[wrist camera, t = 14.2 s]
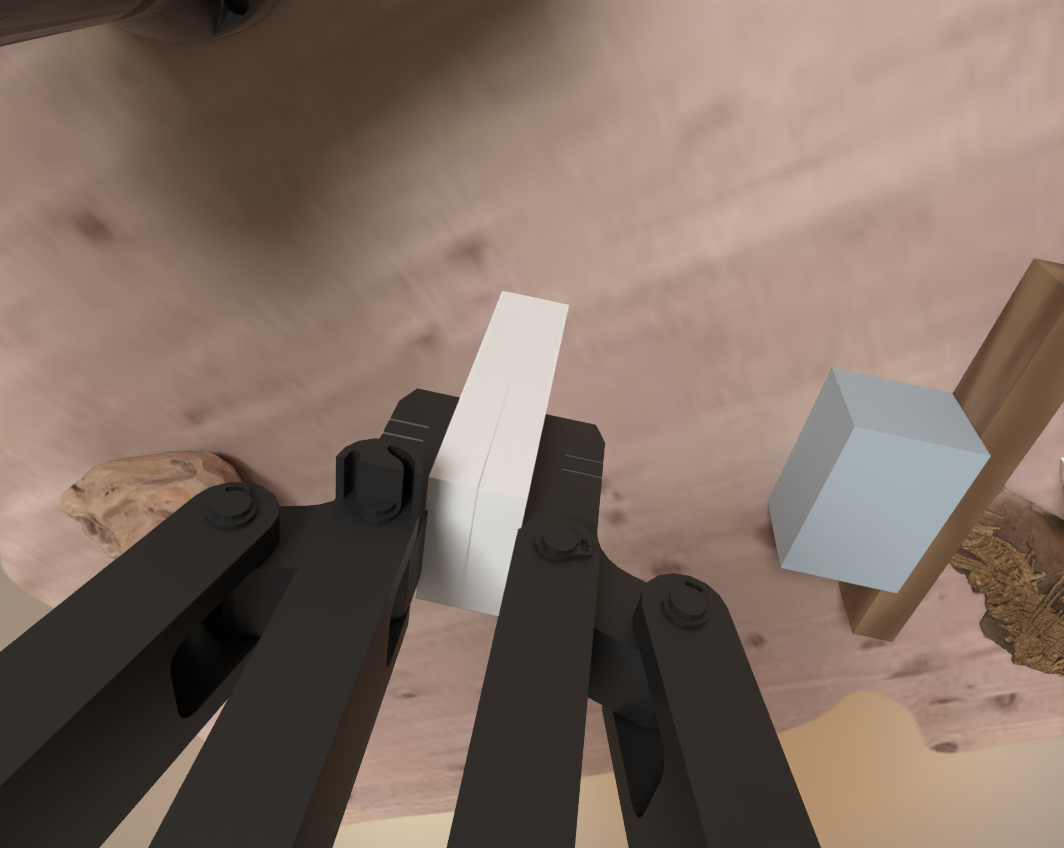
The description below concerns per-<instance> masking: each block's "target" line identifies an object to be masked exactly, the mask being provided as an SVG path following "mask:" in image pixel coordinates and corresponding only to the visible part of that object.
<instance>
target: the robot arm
mask: <svg viewBox="0 0 1064 848" xmlns="http://www.w3.org/2000/svg"><path fill="white" fill-rule="evenodd" d="M279 1H280V0H0V47H1V46H5V45H10V44H14V43H19V42H23V41H28V40H32V39H37V38H41V37H46V36H50V35H55V34H59V33H64V32H68V31H73V30H77V29H82V28H86V27H91V26H95V25H100V24H104V23H107V24H109V25H112V26H115V27H118V28H121V29H124V30H127V31H129V32H132V33H135V34H138V35H141V36H144V37H147V38H150V39H154V40H158V41H164V42H171V43H200V42H206V41H211V40H215V39H218V38H222V37H225V36H229V35H232V34H235V33H238V32H240V31H243V30H245V29H247V28H249V27H251V26H252V25H254V24H255V23H257V22H258V21H260V20H261V19H262V18H263V17H265V16H266V15H267V14H268V13H269V12H270V11H271V10H272V9H273V8H274V7H275V6H276V4H277V3H278V2H279ZM568 307H569V305H567V304H562V303H558V302H553V301H548V300H543V299H539V298H534V297H529V296H525V295H520V294H515V293H510V292H506V291H502V293H501V296H500V298H499V301H498V303H497V306H496V308H495V311H494V313H493V316H492V318H491V321H490V324H489V326H488V329H487V331H486V334H485V336H484V339H483V341H482V344H481V346H480V349H479V351H478V354H477V356H476V359H475V361H474V364H473V366H472V369H471V371H470V374H469V377H468V379H467V382H466V384H465V387H464V389H463V392H462V394H461V397H460V398H459V397H455V396H450V395H445V394H441V393H436V392H431V391H427V390H422V389H416V390H414V391H413V392H411V393H410V394H409V395H407V396H406V397H404V398H403V399H401V400H400V401H399V402H398V404H397V406H396V408H395V410H394V412H393V414H392V416H391V419H390V420H389V422H388V424H387V426H386V427H385V429H384V433H383V434H382V435H381V437H380V439H376V438H375V439H368V440H362V441H358V442H356V443H353V444H351V445H349V446H347V447H345V448H344V449H343V450H342V451H341V452H340V453H339V454H338V455H337V456H336V498H335V500H334V501H331V502H327V503H324V504H320V505H311V506H285V507H279V503H278V501H277V500H276V498H275V496H274V494H273V493H271V492H270V491H268V490H267V489H265V488H264V487H262V486H260V485H256V484H252V483H248V482H227V483H223V484H219V485H215V486H211V487H209V488H207V489H205V490H204V491H202V492H200V493H198V494H197V495H195V496H194V497H193V498H191V499H190V500H189V501H188V502H186V503H185V504H184V505H183V506H181V507H180V508H179V509H178V510H176V511H175V512H174V513H173V514H171V515H170V516H169V517H168V518H166V519H165V520H164V521H163V522H161V523H160V524H159V525H158V526H156V527H155V528H154V529H153V530H151V531H150V532H149V533H148V534H146V535H145V536H144V537H143V538H141V539H140V540H139V541H138V542H136V543H135V544H134V545H133V546H132V547H130V548H129V549H128V550H127V551H125V552H124V553H123V554H122V555H120V556H119V557H118V558H117V559H115V560H114V561H113V562H112V563H110V564H109V565H108V566H107V567H105V568H104V569H103V570H102V571H100V572H99V573H98V574H97V575H95V576H94V577H93V578H92V579H90V580H89V581H88V582H87V583H85V584H84V585H83V586H82V587H80V588H79V589H78V590H77V591H75V592H74V593H73V594H72V595H70V596H69V597H68V598H67V599H66V600H64V601H63V602H62V603H61V604H59V605H58V606H57V607H56V608H54V609H53V610H52V611H51V612H50V613H48V614H47V615H46V616H44V617H43V618H42V619H41V620H39V621H38V622H37V623H36V624H34V625H33V626H32V627H31V628H29V629H28V630H27V631H26V632H24V633H23V634H22V635H21V636H19V637H18V638H17V639H16V640H15V641H13V642H12V643H11V644H9V645H8V646H7V647H6V648H5V649H3V650H2V651H1V652H0V848H100V846H101V845H102V844H103V843H104V842H105V841H106V839H107V838H108V837H109V836H110V835H111V833H112V832H113V831H114V830H115V829H116V828H117V827H118V826H119V824H120V823H121V822H122V821H123V820H124V819H125V817H126V816H127V815H128V814H129V813H130V812H131V810H132V809H133V808H134V807H135V806H136V805H137V803H138V802H139V801H140V800H141V799H142V798H143V797H144V795H145V794H146V793H147V792H148V790H150V788H151V787H152V786H153V785H154V784H155V783H156V781H157V780H158V779H159V778H160V777H161V776H162V774H163V773H164V772H165V771H166V770H167V769H168V767H169V766H170V765H171V764H172V763H173V762H174V761H175V759H176V758H177V757H178V756H179V755H180V754H181V752H182V751H183V750H184V749H185V748H186V747H187V745H188V744H189V743H190V742H191V741H192V739H193V738H194V737H195V736H196V735H197V734H198V733H199V732H200V730H201V729H202V728H203V727H204V726H205V725H206V723H207V722H208V721H209V720H210V719H211V718H212V716H213V715H214V714H215V713H216V712H217V711H218V709H219V708H220V707H221V706H222V705H223V704H224V702H225V701H226V700H227V699H228V700H227V702H226V704H225V705H224V707H223V709H222V711H221V713H220V715H219V717H218V719H217V720H216V722H215V724H214V726H213V728H212V730H211V732H210V733H209V735H208V737H207V739H206V741H205V743H204V745H203V747H202V749H201V750H200V752H199V754H198V756H197V758H196V760H195V762H194V763H193V765H192V767H191V769H190V771H189V773H188V775H187V777H186V778H185V780H184V782H183V784H182V786H181V788H180V789H179V791H178V793H177V795H176V797H175V799H174V801H173V803H172V805H171V806H170V808H169V810H168V812H167V814H166V816H165V817H164V819H163V821H162V823H161V825H160V827H159V829H158V831H157V832H156V834H155V836H154V838H153V840H152V842H151V844H150V846H149V847H148V848H332V847H333V844H334V841H335V838H336V836H337V833H338V830H339V827H340V824H341V821H342V818H343V815H344V812H345V809H346V806H347V803H348V800H349V797H350V794H351V791H352V788H353V786H354V783H355V780H356V777H357V774H358V771H359V768H360V765H361V762H362V759H363V756H364V753H365V750H366V747H367V744H368V741H369V738H370V735H371V733H372V730H373V727H374V724H375V721H376V718H377V715H378V712H379V709H380V706H381V703H382V700H383V697H384V694H385V691H386V688H387V685H388V682H389V679H390V677H391V674H392V671H393V668H394V665H395V662H396V659H397V656H398V653H399V650H400V647H401V644H402V641H403V638H404V635H405V632H406V629H407V626H408V620H409V610H410V604H411V601H412V598H413V595H414V592H415V589H416V587H417V592H416V598H417V599H421V600H426V601H431V602H435V603H440V604H444V605H449V606H454V607H458V608H463V609H467V610H472V611H476V612H481V613H486V614H490V615H495V616H498V620H497V625H496V629H495V634H494V638H493V643H492V647H491V652H490V656H489V661H488V665H487V670H486V674H485V679H484V683H483V688H482V692H481V696H480V701H479V705H478V710H477V714H476V719H475V723H474V728H473V732H472V737H471V741H470V746H469V750H468V755H467V759H466V764H465V768H464V773H463V777H462V782H461V786H460V791H459V795H458V800H457V804H456V808H455V813H454V818H453V822H452V826H451V831H450V835H449V840H448V844H447V848H575V839H576V827H577V816H578V804H579V792H580V781H581V769H582V758H583V746H584V735H585V723H586V712H587V700H588V697H589V698H590V699H592V700H594V701H596V702H598V703H599V704H601V705H602V712H603V717H604V722H605V727H606V732H607V738H608V743H609V748H610V753H611V758H612V764H613V769H614V774H615V779H616V784H617V789H618V795H619V800H620V805H621V810H622V815H623V820H624V825H625V831H626V836H627V841H628V846H629V848H821V847H820V844H819V842H818V839H817V837H816V834H815V831H814V829H813V826H812V824H811V821H810V819H809V816H808V814H807V811H806V809H805V806H804V803H803V801H802V798H801V795H800V793H799V790H798V788H797V785H796V783H795V780H794V777H793V775H792V773H791V770H790V767H789V765H788V762H787V759H786V757H785V754H784V752H783V749H782V747H781V744H780V741H779V739H778V736H777V734H776V731H775V729H774V726H773V723H772V721H771V718H770V716H769V713H768V711H767V708H766V705H765V703H764V700H763V698H762V695H761V693H760V690H759V687H758V685H757V682H756V680H755V677H754V675H753V672H752V669H751V667H750V664H749V662H748V659H747V657H746V654H745V651H744V649H743V646H742V644H741V641H740V639H739V636H738V633H737V631H736V628H735V626H734V623H733V621H732V618H731V615H730V613H729V610H728V608H727V606H726V605H725V603H724V602H723V600H722V598H721V597H720V595H719V594H718V593H716V592H715V591H714V590H713V589H712V588H711V587H709V586H708V585H707V584H706V583H703V582H701V581H699V580H697V579H695V578H693V577H691V576H686V575H681V574H676V573H672V574H664V575H659V576H657V577H655V578H654V579H652V580H650V581H649V582H647V583H646V582H644V581H642V580H640V579H638V578H636V577H634V576H632V575H630V574H628V573H627V572H625V571H623V570H622V569H620V568H618V567H617V566H616V565H615V564H614V563H613V562H611V561H610V560H609V559H608V558H607V556H606V555H605V553H604V552H603V551H602V549H601V547H600V544H599V542H598V536H597V527H598V516H599V505H600V494H601V483H602V479H601V478H602V472H603V460H604V449H605V442H604V440H603V438H602V436H601V434H600V432H599V430H598V428H597V426H596V425H594V424H589V423H585V422H580V421H575V420H571V419H566V418H561V417H557V416H552V415H547V414H546V410H547V405H548V400H549V396H550V391H551V386H552V382H553V377H554V372H555V368H556V363H557V358H558V354H559V349H560V344H561V340H562V335H563V330H564V326H565V321H566V316H567V312H568Z"/></svg>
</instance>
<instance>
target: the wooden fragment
mask: <svg viewBox="0 0 1064 848" xmlns="http://www.w3.org/2000/svg"><path fill="white" fill-rule="evenodd" d="M950 563H951V564H952V565H953V567H954V568H955V569H956V570H957V571H958V572H959V573H961V574H966V575H967V579H969V583H970V584H971V585H972V589H973V592H974V593H976V594H978V593H984V594H985V597H986V599H985V601H986V607H987V610H988V611H987V612H986V614H985V615H984V617H983V620H982V621H981V628H982V631H983V632H984V634H985V637H986V638H989V639H991V640H993V641H995V642H996V644H998V645H1001V646H1002V647H1003V648H1004V649H1007V650H1008V652H1009V653H1011V654H1012V656H1013V658H1012V662H1013V664H1017V665H1025V666H1028V667H1030V668H1032V669H1035V670H1039V671H1041V672H1044V673H1048V674H1057V675H1060V676H1062V677H1064V520H1062V519H1060V518H1059V517H1057V516H1055V515H1053V514H1051V513H1050V512H1048V511H1046V510H1044V509H1042V507H1040V506H1036V505H1035V504H1034V503H1032V502H1030V501H1028V500H1026V499H1024V498H1022V497H1021V496H1018V495H1016V494H1014V493H1013V492H1011V491H1009V490H1007V489H1006V487H1005V485H1004V486H1003V487H1002V489H1001V490H1000V492H999V493H998V494H997V496H996V497H995V499H994V500H993V501H992V503H991V504H990V506H989V507H988V508H987V510H986V511H985V513H984V514H983V515H982V517H981V518H980V520H979V521H978V522H977V524H976V525H975V527H974V528H973V529H972V531H971V532H970V534H969V535H968V536H967V538H966V539H965V541H964V542H963V544H962V545H961V546H960V548H959V549H958V551H957V552H956V553H955V555H954V556H953V558H952V559H951V560H950Z"/></svg>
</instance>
